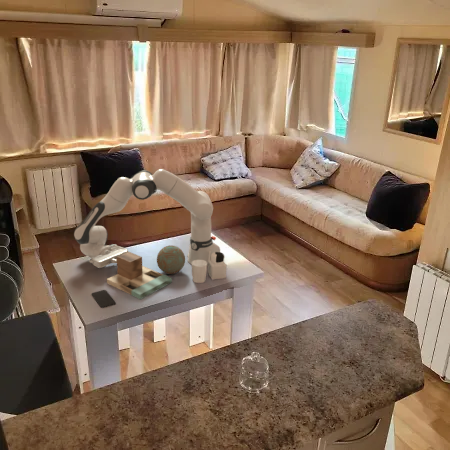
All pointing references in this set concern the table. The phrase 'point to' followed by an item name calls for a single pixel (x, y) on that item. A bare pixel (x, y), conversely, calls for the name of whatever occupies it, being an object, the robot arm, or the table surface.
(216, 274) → the container
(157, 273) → the board
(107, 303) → the phone
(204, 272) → the white cup
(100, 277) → the table surface
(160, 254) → the decorative sphere
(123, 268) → the walnut block
